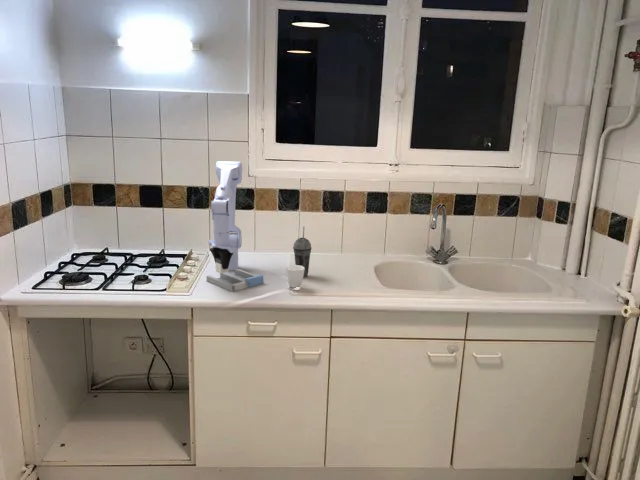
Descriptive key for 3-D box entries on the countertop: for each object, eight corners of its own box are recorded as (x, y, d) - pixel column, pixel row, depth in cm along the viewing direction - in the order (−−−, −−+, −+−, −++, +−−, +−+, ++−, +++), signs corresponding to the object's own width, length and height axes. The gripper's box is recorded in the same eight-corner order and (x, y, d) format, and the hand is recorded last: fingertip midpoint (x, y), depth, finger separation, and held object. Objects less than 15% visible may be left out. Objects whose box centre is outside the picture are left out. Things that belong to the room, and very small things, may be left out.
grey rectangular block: (215, 271, 198) (215, 258, 197) (223, 269, 200) (223, 256, 199) (221, 273, 196) (220, 260, 195) (228, 271, 198) (228, 258, 197)
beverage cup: (289, 277, 210) (290, 227, 205) (297, 272, 216) (298, 224, 211) (306, 279, 207) (307, 229, 202) (313, 274, 214) (314, 226, 209)
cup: (284, 291, 194) (284, 270, 192) (286, 282, 203) (286, 262, 201) (304, 291, 194) (304, 270, 192) (305, 283, 203) (305, 262, 201)
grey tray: (205, 283, 200) (205, 273, 199) (238, 275, 210) (238, 265, 209) (231, 294, 189) (231, 283, 188) (264, 285, 199) (264, 275, 198)
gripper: (200, 229, 197) (202, 265, 200) (223, 237, 187) (224, 274, 190) (217, 227, 201) (217, 261, 205) (240, 234, 192) (240, 270, 195)
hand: (222, 267), depth 198 cm, fingers closed on grey rectangular block, 3 cm apart
